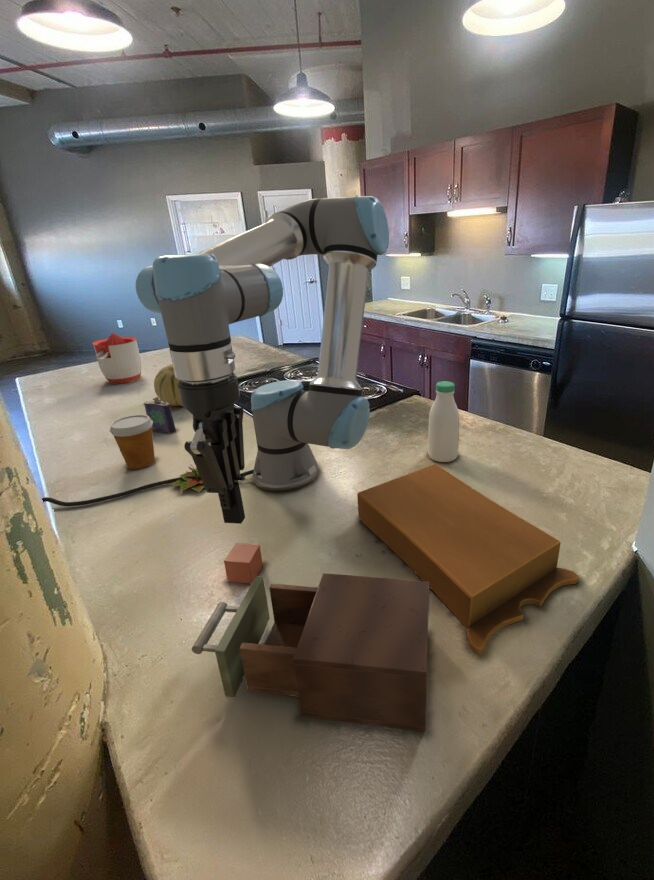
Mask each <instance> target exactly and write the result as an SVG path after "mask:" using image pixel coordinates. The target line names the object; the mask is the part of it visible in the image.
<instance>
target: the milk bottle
mask: <svg viewBox="0 0 654 880" xmlns="http://www.w3.org/2000/svg"><path fill="white" fill-rule="evenodd" d="M455 387H456V384H455V383H454V382H452V381H447V380H442V381H438V382H436V384H435V393H436V396H435V399H434V401H433V403H432V405H431V406H430V407H431V408H430V410H429V414H428V435H427V437H428V438H427V440H428V441H427V442H428V443H427V454H428V457H429V458H430V459H431V460H432V461H436V462H439V463H450V462H453V461H455V460H456V459H457V458H458V456H459V455H458V454H459V440H460V439H459V437H460V412H459V408H458V406H457V403H456V401H455V397H454V394H455V389H456V388H455Z"/></svg>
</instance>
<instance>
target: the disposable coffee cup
mask: <svg viewBox="0 0 654 880" xmlns="http://www.w3.org/2000/svg"><path fill="white" fill-rule="evenodd" d="M152 424H153V421H152V420H151V419H150V417H149V416H147V414H131V415H126V416H123V417H119V418H117V419H115V420H113V421H112V422H111V423H110V428H109V433H110V434H111V435H112V436H113V438H114V440H115V443H116V444H117V445H116V446H117V447H118V449H119V451H120V453H121V456H122V458H123V460H124V463H125V465H126V466H127V468H128V469H130V470H140V469H144V468H148V467H149V466H151V465H153V464H154V463H155V461H156V460H155V449H154V448H155V447H154V446H155V445H154V436H153V430H152Z"/></svg>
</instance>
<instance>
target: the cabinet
mask: <svg viewBox="0 0 654 880" xmlns="http://www.w3.org/2000/svg"><path fill="white" fill-rule="evenodd" d="M317 587H318V589H317V592H316V595H315V597H314V600H313V603H312V606H311V609H310V612H309V615H308V618H307V620H306V623H305V626H304V629H303V632H302V635H301V638H300V641H299V643H298V646H297V649H296V652H295V655H294V658H293V659H294V667H295V674H296V682H297V689H298V696H299V697H298V696H297V697H298V703H299V709H300V717H302V718H303V717H304V718H312V719H319V720H327V721H334V722H335V721H336V722H344V723H352V724H361V725H369V726H376V727H385V728H392V729H401V730H408V731H417V732H426V723H427V722H426V720H427V719H426V718H427V717H426V715H427V687H428V686H427V685H428V683H427V682H428V680H427V679H428V645H429V612H430V611H429V609H430V608H429V607H430V605H429V604H430V587H429V582H428V581H423V580H417V579H416V580H413V579H402V578H389V577H375V576H364V575H363V576H362V575H361V576H360V575H351V574H339V573H325V572H323V573H322V574H321V578H320V580H319V584H318V586H317Z"/></svg>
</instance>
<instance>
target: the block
mask: <svg viewBox="0 0 654 880" xmlns="http://www.w3.org/2000/svg"><path fill="white" fill-rule="evenodd" d="M223 565H224V569H225V574H226V579H227V582H228V583H238V584H249V585H251V584H252V582H253V580H254V578H255V576H258V575H259V573H260V571H261V569H262V568H263V566H264V562H263V557H262V550H261V545H260V544H256V543H255V544H254V543H242V542H241V543H240V542H236V543H234V545H233V546H232V548H231V550H230V551H229V553H228V554H227V555H226V557H225V559H224V560H223Z"/></svg>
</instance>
